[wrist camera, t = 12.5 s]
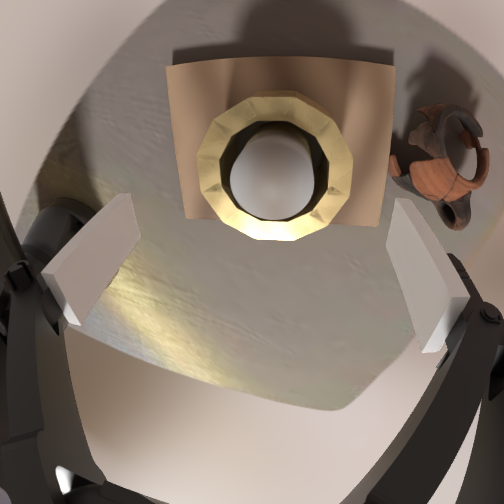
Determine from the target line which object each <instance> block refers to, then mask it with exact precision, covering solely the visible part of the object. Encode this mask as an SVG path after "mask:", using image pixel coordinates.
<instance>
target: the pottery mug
mask: <svg viewBox="0 0 504 504" xmlns="http://www.w3.org/2000/svg"><path fill="white" fill-rule="evenodd" d="M417 111H418V112H420V113H422V114H423V115H424V116H425V117H426V118H427V119H428V120H429V122H423V123H421V124H419V125H418V127H417V128H416V129H414V130H412V131H411V132H410V134H409V138H408V143H409V144H411V145H418V146H419V147H420V148H421V149H423V150H425V151H426V152H427V153H428V154H429V155H431V156H432V158H431V159H428V160H423V161H413V163H411V164H410V166H409V169H410V173H407V174H402V172H401V170H400V167H399V165H398V161H397V158H396V155H394V154H391V155H389V162H388V169H387V170H388V172H389V174H390V175H391V177H392V179H393V180H394V181H395V182H396V183H397V185H399V186H400V187H401V188H403V189H405V190H407V191H410V192H412V193H414V194H416V195H417V196H419V197H422V198H424V199H426V200H429V201H431V202H432V203H433V204H434V205H435V207H436V209H437V211H438V214H439V216H440V217H441V219H442V221H443V222H444V224H445V225H446V226H447V227H448V228H450V229H452V230H462V229H464V228H465V227H466V226H467V225H468V223H469V222H470V218H471V208H470V196H471V190H474V189H477V188H479V187H481V185H482V184H483V183H484V181H485V179H486V177H487V175H488V171H489V151H488V148H481V146H480V142H479V140H478V137H483V131H482V128H481V126H480V125H479V123H478V122H477V120H476V119H475V118H474V116H473V115H472V114H471V113H469V111H467V110H465V109H464V108H461V107H459V106H457V105H450V106H448V105H444V104H441V103H438V104H434V105H430V106H424V107H421V108H418V109H417ZM451 115H455V116H457V117H458V118H459V120H460V121H461V123H462V125H463V127H464V129H465V130H464V131H463V132H462V134H461V135H460V137H461V139H462V141H463V143H464V145H465V146H466V148H467V149H472V148H476V153H477V169H476V174H475V177H474V178H473V179H472V180H466V179H464V178H463V177H462V176H460V175H459V174H458V173H457V171H456V170H455V168H454V167H453V165H452V163H451V161H450V159H449V157H448V156H447V151H446V147H445V142H444V127H445V123H446V120H447V119H448V117H450V116H451Z"/></svg>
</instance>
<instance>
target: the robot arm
mask: <svg viewBox="0 0 504 504" xmlns="http://www.w3.org/2000/svg"><path fill="white" fill-rule="evenodd" d="M140 239H141V234H140V230H139V227H138V223H137V219H136V215H135V211H134V207H133V203H132V199H131V195H130V193H121V194H117V195H116V196H115V197H114V198H113V199H112V200H111V201H110V202H109V203H107V204H106V205H105V206H104V207H103V208H102V209H101V210H100V211H99V212H98V213H97V214H96V213H95V212H94V211H92V210H91V209H90V208H89V207H87V206H86V205H84V204H82V203H80V202H78V201H76V200H73V199H68V198H60V199H56V200H54V201H52V202H51V203H49V204H48V205H47V206H46V207H44V208H43V209H42V210H41V211H40V212H39V214H38V215H37V217H36V219H35V221H34V222H33V224H32V226H31V228H30V230H29V232H28V233H27V235H26V237H25V239H24V241H23V243H22V244H21V245H20V243H19V240H18V238H17V236H16V233H15V231H14V228H13V226H12V223H11V221H10V218H9V215H8V213H7V210H6V207H5V204H4V201H3V198H2V195H1V192H0V504H168V503H165V502H162V501H159V500H156V499H153V498H151V497H148V496H145V495H142V494H140V493H137V492H134V491H131V490H129V489H126V488H123V487H120V486H118V485H116V484H113V483H111V482H108V481H107V480H106V477H105V476H104V474H103V472H102V471H101V470H100V469H99V467H98V466H97V465H96V464H95V462H94V460H93V458H92V456H91V453H90V450H89V447H88V444H87V440H86V437H85V434H84V431H83V427H82V424H81V420H80V416H79V412H78V408H77V404H76V400H75V396H74V391H73V388H72V382H71V377H70V371H69V366H68V360H67V354H66V347H65V340H64V332H63V331H64V330H65V328H66V326H67V325H68V323H72V324H76V325H80V326H82V324H83V322H84V321H85V319H86V318H87V316H88V314H89V313H90V311H91V310H92V308H93V306H94V305H95V303H96V302H97V300H98V299H99V297H100V296H101V294H102V293H103V291H104V290H105V289H106V288H107V287H108V286H109V285H110V284H111V282H112V281H113V279H114V278H115V277H116V275H117V273H118V271H119V268H120V266H121V265H122V264H123V262H124V261H125V259H126V258H127V257H128V255H129V254H130V252H131V251H132V250H133V248H134V247H135V246H136V244H137V243H138V242H139V240H140ZM386 249H387V251H388V254H389V257H390V259H391V262H392V264H393V267H394V270H395V272H396V275H397V278H398V281H399V283H400V286H401V289H402V292H403V295H404V298H405V301H406V304H407V307H408V310H409V313H410V316H411V320H412V323H413V326H414V329H415V333H416V336H417V340H418V343H419V347H420V351H421V353H429V352H438V351H439V350H440V348H441V347H442V345H443V344H444V342H446V345H447V348H448V350H447V352H446V353H445V355H444V357H443V358H442V359H441V361H440V362H439V364H438V365H437V366H436V367H437V368H438V369H437V371H436V372H435V374H434V376H433V378H432V380H431V382H430V383H429V385H428V387H427V389H426V391H425V392H424V394H423V396H422V397H421V399H420V401H419V403H418V404H417V406H416V407H415V409H414V411H413V412H412V414H411V415H410V417H409V418H408V420H407V421H406V423H405V424H404V426H403V427H402V429H401V431H400V432H399V433H398V434H397V436H396V437H395V439H394V440H393V441H392V443H391V444H390V445H389V447H388V448H387V449H386V451H385V452H384V453H383V455H382V456H381V457H380V459H379V460H378V461H377V462H376V464H375V465H374V466H373V467H372V469H371V470H370V471H369V472H368V473H367V474H366V476H365V477H364V478H363V479H362V480H361V481H360V483H359V484H358V485H357V486H356V487H355V488H354V489H353V490H352V492H351V493H350V494H349V495H348V496H347V497H346V498H345V499H344V500H343V501H342V502H341V503H340V504H427V503H428V501H429V500H430V499H431V497H432V496H433V494H434V493H435V491H436V490H437V488H438V486H439V485H440V483H441V482H442V480H443V478H444V476H445V475H446V473H447V471H448V470H449V468H450V466H451V464H452V463H453V461H454V459H455V457H456V455H457V453H458V451H459V449H460V447H461V445H462V443H463V441H464V439H465V437H466V435H467V433H468V430H469V428H470V426H471V424H472V422H473V419H474V417H475V414H476V412H477V410H478V407H479V405H480V402H481V399H482V402H481V408H480V414H479V420H478V425H477V430H476V435H475V440H474V444H473V448H472V453H471V456H470V460H469V464H468V467H467V471H466V474H465V477H464V481H463V484H462V487H461V490H460V492H459V495H458V498H457V501H456V504H504V319H503V317H502V314H501V312H500V311H499V310H498V309H497V308H496V307H495V306H494V305H492V304H490V303H488V302H483V300H482V298H481V297H480V294H479V293H478V291H477V289H476V288H475V285H474V284H473V282H472V280H471V279H470V277H469V275H468V273H467V272H466V270H465V268H464V266H463V265H462V263H461V261H460V260H458V259H457V258H456V257H455V256H454V255H453V254H451V253H446V252H445V251H444V249H443V247H442V246H441V244H440V242H439V241H438V239H437V238H436V236H435V235H434V233H433V232H432V230H431V228H430V227H429V225H428V224H427V222H426V221H425V220H424V218H423V217H422V215H421V214H420V212H419V211H418V209H417V208H416V207H415V205H414V204H413V202H412V201H411V200H410V199H404V198H396V200H395V205H394V210H393V215H392V220H391V224H390V229H389V234H388V238H387V242H386ZM62 492H65V493H66V494H64V495H63V494H62Z"/></svg>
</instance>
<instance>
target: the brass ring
mask: <svg viewBox="0 0 504 504" xmlns="http://www.w3.org/2000/svg"><path fill="white" fill-rule="evenodd" d="M256 121H289V122H291V123H293V124H295V125H296V126H298V127H300V128H302V129H303V130H305V131H307V132H308V133H310V134H312V135H313V136H315V137H316V139H317V140H318V142H319V144H320V146H321V148H322V161H321V163H320V164H319V166H318V167H317V169H316V170H315V172H314V173H313V175H314V190H313V194H312V196H311V199H310V200H309V202H308V204H307V205H306V206H305V207H304V208H303V209H302V210H301V211H300V212H298V213H297V214H295V215H293V216H291V217H288V218H285V219H280V220H268V219H263V218H259V217H257V216H254V215H252V214H251V213H249V212H247V211H246V210H245V209H244V208H243V207H242V206H241V205H240V204H239V203H238V202H237V200H236V199H235V197H234V195H233V192H232V189H231V184H230V176H231V170H232V167H233V165H234V163H235V161H236V160H237V158H238V150H237V137H238V135H239V133H240V131H241V130H242V129H244V128H245V127H247V126H249V125H251V124H252V123H254V122H256ZM196 158H197V166H198V174H199V182H200V190H201V193H202V194H203V196H204V197H205V199H206V200H207V201H208V203H209V204H210V205H211V207H212V208H213V209H214V211H215V212H216V213H217V215H218V216H219V217H220V219H221V220H222V221H224V223H226V224H228V225H230V226H232V227H234V228H236V229H237V230H239V231H241V232H243V233H245V234H247V235H249V236H251V237H253V238H255V239H267V240H289V241H292V240H296V239H298V238H300V237H303V236H305V235H307V234H310V233H312V232H314V231H317V230H319V229H321V228H324V227H326V225H328V224H329V223H330V222H331V220H332V219H333V218H334V216H335V215H336V214H337V213H338V211H339V210H340V209H341V207H342V206H343V205H344V203H345V202H346V201H347V200H348V198H349V196H350V189H351V179H352V169H353V156H352V154H351V152H350V150H349V148H348V146H347V144H346V142H345V140H344V138H343V136H342V134H341V132H340V131H339V129H338V127H337V125H336V123H335V121H334V120H333V118H332V117H331V116H330V114H329V113H328V111H327V110H326V108H324V107H323V106H321V105H320V104H318V103H316V102H315V101H313V100H311V99H309V98H308V97H306V96H304V95H303V94H301V93H299V92H297V91H296V92H295V91H293V90H261V91H259V92H257V93H256V94H254V95H252V96H251V97H249V98H247V99H245V100H244V101H242V102H240V103H239V104H237V105H236V106H234V107H232V108H231V109H229V110H228V111H226V112H224V113H223V114H221V115H220V116H218V117H217V118H215V119H214V120H213V121H212V123H211V125H210V127H209V129H208V131H207V133H206V135H205V137H204V140H203V142H202V144H201V146H200V148H199V150H198V152H197V156H196Z"/></svg>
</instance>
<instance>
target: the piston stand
mask: <svg viewBox="0 0 504 504" xmlns="http://www.w3.org/2000/svg"><path fill="white" fill-rule="evenodd" d="M395 71H396V67H395V66H390V65H384V64H378V63H371V62H364V61H356V60H347V59H336V58H323V57H303V56H260V57H240V58H227V59H216V60H207V61H199V62H191V63H184V64H178V65H172V66H166V76H167V86H168V96H169V105H170V113H171V122H172V130H173V137H174V145H175V152H176V159H177V166H178V173H179V179H180V186H181V192H182V198H183V204H184V210H185V216H186V219H220V217H219V216H218V215H217V213H216V212H215V211H214V209H213V208H212V207H211V205H210V204H209V203H208V201H207V200H206V199H205V197H204V196H203V194H202V193H201V190H200V182H199V174H198V166H197V158H196V156H197V152H198V150H199V148H200V146H201V144H202V142H203V140H204V137H205V135H206V133H207V131H208V129H209V127H210V125H211V123H212V121H213V120H214V119H215V118H217V117H218V116H220V115H221V114H223V113H224V112H226V111H228V110H229V109H231V108H232V107H234V106H236V105H237V104H239V103H240V102H242V101H244V100H245V99H247V98H249V97H251V96H252V95H254V94H256V93H257V92H259V91H261V90H293V91H295V92H296V91H297V92H299V93H301V94H303V95H304V96H306V97H308V98H309V99H311V100H313V101H315V102H316V103H318V104H320V105H321V106H323V107H324V108H326V110H327V111H328V113H329V114H330V116H331V117H332V118H333V120H334V121H335V123H336V125H337V127H338V129H339V131H340V132H341V134H342V136H343V138H344V140H345V142H346V144H347V146H348V148H349V150H350V152H351V154H352V156H353V169H352V179H351V189H350V196H349V198H348V200H347V201H346V202H345V203H344V205H343V206H342V207H341V209H340V210H339V211H338V213H337V214H336V215H335V216H334V218H333V219H332V220H331V222H330V223H329V224H343V225H359V226H375V227H378V224H379V218H380V213H381V208H382V202H383V196H384V190H385V183H386V176H387V169H388V162H389V154H390V145H391V136H392V125H393V112H394V97H395ZM237 150H238V158H237V160H236V161H235V163H234V165H233V167H232V170H231V176H230V184H231V189H232V192H233V195H234V197H235V199H236V200H237V202H238V203H239V204H240V205H241V206H242V207H243V208H244V209H245V210H246V211H247V212H249V213H251V214H252V215H254V216H257V217H259V218H263V219H268V220H280V219H285V218H288V217H291V216H293V215H295V214H297V213H298V212H300V211H301V210H302V209H303V208H304V207H305V206H306V205H307V204H308V202H309V200H310V199H311V196H312V194H313V190H314V175H313V173H314V172H315V170H316V169H317V167H318V166H319V164H320V163H321V161H322V148H321V146H320V144H319V142H318V140H317V139H316V137H315V136H313V135H312V134H310V133H308V132H307V131H305V130H303V129H302V128H300V127H298V126H296V125H295V124H293V123H291V122H289V121H256V122H254V123H252V124H251V125H249V126H247V127H245V128H244V129H242V130H241V131H240V133H239V135H238V137H237ZM220 220H221V219H220Z"/></svg>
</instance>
